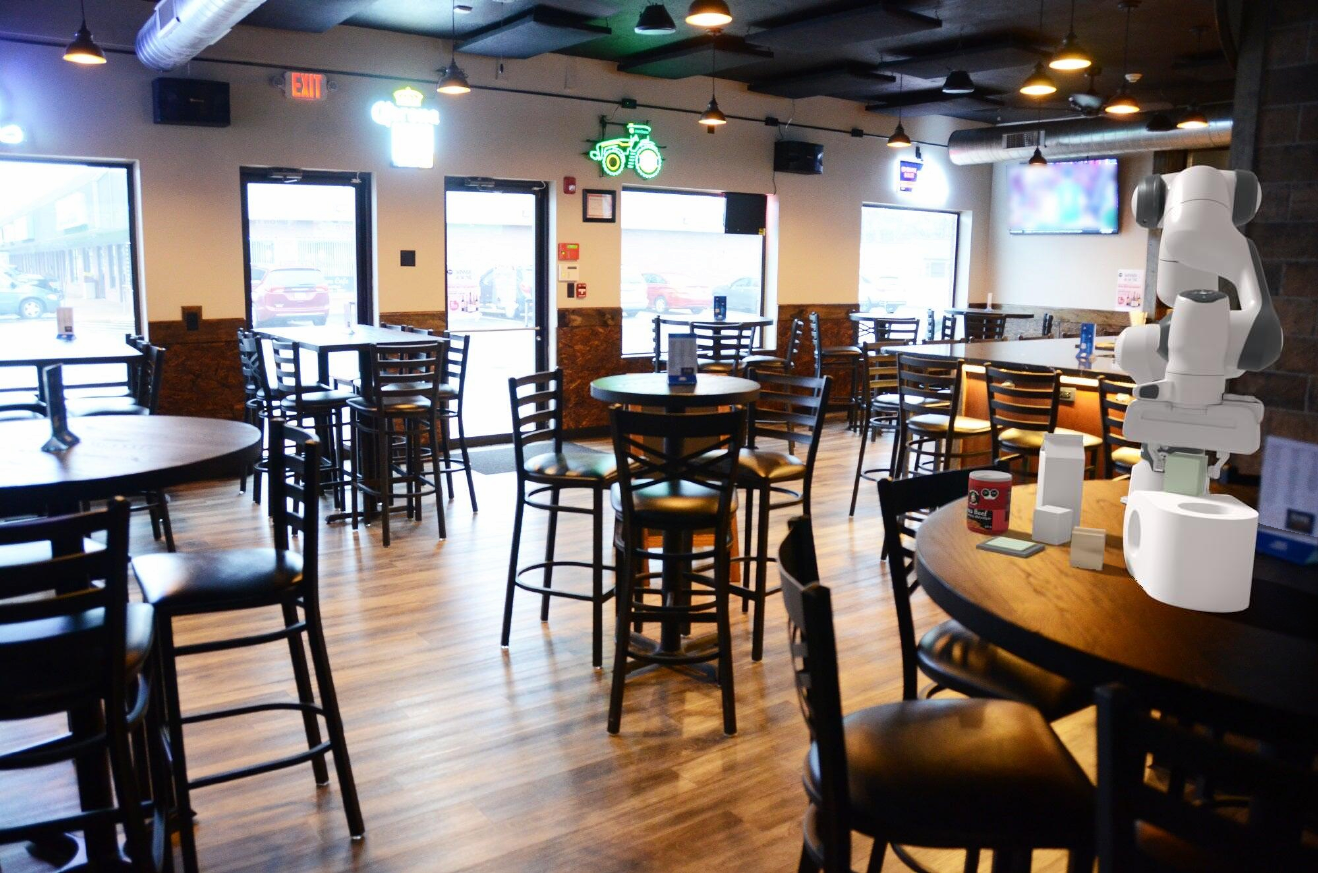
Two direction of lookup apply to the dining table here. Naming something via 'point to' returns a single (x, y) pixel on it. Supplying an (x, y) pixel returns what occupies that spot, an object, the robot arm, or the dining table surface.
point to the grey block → (1052, 524)
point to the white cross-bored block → (1191, 548)
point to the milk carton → (1061, 473)
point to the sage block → (1185, 473)
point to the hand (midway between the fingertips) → (1185, 474)
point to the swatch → (1010, 546)
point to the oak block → (1087, 548)
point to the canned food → (989, 502)
